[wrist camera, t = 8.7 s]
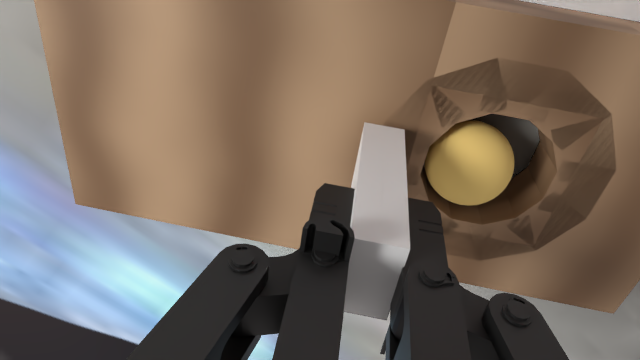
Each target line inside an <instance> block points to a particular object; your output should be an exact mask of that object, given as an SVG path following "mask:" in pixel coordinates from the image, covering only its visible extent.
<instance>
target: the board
mask: <svg viewBox="0 0 640 360" xmlns="http://www.w3.org/2000/svg"><path fill="white" fill-rule="evenodd" d="M34 2H35V7H36V12H37V17H38V22H39V27H40V32H41V37H42V41H43V46H44V51H45V56H46V61H47V66H48V71H49V76H50V81H51V86H52V90H53V95H54V100H55V105H56V110H57V115H58V120H59V125H60V130H61V135H62V139H63V144H64V149H65V154H66V159H67V164H68V169H69V174H70V179H71V184H72V188H73V193H74V198H75V203H76V204H78V205H83V206H88V207H93V208H98V209H102V210H107V211H112V212H117V213H122V214H127V215H132V216H137V217H142V218H147V219H152V220H156V221H161V222H166V223H171V224H176V225H181V226H186V227H191V228H196V229H201V230H205V231H210V232H215V233H220V234H225V235H230V236H235V237H240V238H245V239H250V240H255V241H259V242H264V243H269V244H274V245H279V246H284V247H289V248H294V249H299V248H300V243H301V236H302V229H303V227H304V225H305V223H306V222H307V221H309V217H310V213H311V210H312V205H313V202H314V197H315V193H316V191H317V190H318V189H319V188H320V187H321V186H322V185H323V184H324V183H327V184H333V185H338V186H343V187H349V188H351V185H352V179H353V175H354V170H355V165H356V160H357V155H358V151H359V146H360V141H361V136H362V132H363V127H364V122H366V123H371V124H377V125H382V126H388V127H393V128H399V129H404V130H405V150H406V170H407V191H408V198H413V199H419V200H424V201H429V202H433V203H434V205H435V206H436V207H437V209H438V210H439V212H440V213H441V220H442V227H443V235H444V240H445V247H446V254H447V261H448V268H450V269H451V270H452V271H453V273H454V274H455V275H456V277H457V279H458V282H461V283H466V284H470V285H475V286H480V287H485V288H490V289H495V290H500V291H505V292H510V293H515V294H520V295H524V296H529V297H534V298H539V299H544V300H549V301H554V302H559V303H564V304H569V305H574V306H578V307H583V308H588V309H593V310H598V311H603V312H608V313H613V314H614V312H615V311H616V310H617V309H618V307H619V306H620V305H621V303H622V302H623V301H624V299H625V298H626V297H627V296H628V294H629V293H630V292H631V290H632V289H633V288H634V286H635V285H636V284H637V283H638V281H639V280H640V22H636V21H630V20H625V19H619V18H613V17H608V16H602V15H597V14H591V13H586V12H580V11H574V10H569V9H563V8H558V7H552V6H546V5H541V4H535V3H530V2H524V1H519V0H34ZM492 113H493V114H499V115H504V116H509V117H515V118H520V119H525V120H529V121H530V122H531V123H533V124H534V125H535V126H536V127H537V128H538V132H539V138H540V142H539V144H538V146H537V149H536V151H535V153H534V155H533V157H532V159H531V161H530V163H529V165H528V167H527V168H526V169H524V170H523V171H522V172H520V173H519V174H518V175H516V176H515V177H514V178H512V179H511V180H510V182H509V184H508V185H507V187H506V188H505V189H504V190H503V191H502V192H501V193H500V194H499V195H498V196H497V197H495V198H494V199H492V200H490V201H488V202H486V203H482V204H479V205H460V204H456V203H453V202H450V201H448V200H446V199H444V198H443V197H442V196H440V195H439V194H438V193H437V192H436V191H435V190H434V188H433V187H432V186H431V184H430V182H429V180H428V178H427V175H426V171H425V167H424V162H425V159H426V155H427V152H428V149H429V147H430V146H431V145H432V144H433V143H434V142H435V141H436V140H437V139H439V138H440V137H441V136H442V135H443V134H444V133H445V132H447V131H448V130H449V129H450V128H451V127H452V126H453V125H454V124H456V123H459V122H463V121H467V120H470V119H474V118H477V117H481V116H485V115H488V114H492Z"/></svg>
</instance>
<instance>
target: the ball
mask: <svg viewBox="0 0 640 360" xmlns="http://www.w3.org/2000/svg"><path fill="white" fill-rule="evenodd" d="M425 171H426V175H427V178H428V180H429V182H430V184H431V186H432V187H433V188H434V190H435V191H436V192H437V193H438V194H439V195H440V196H442V197H443V198H444V199H446V200H448V201H450V202H453V203H456V204H460V205H479V204H482V203H486V202H488V201H490V200H492V199H494V198H495V197H497V196H498V195H499V194H500V193H501V192H502V191H503V190H504V189H505V188H506V187H507V185H508V184H509V182H510V180H511V178H512V175H513V171H514V154H513V150H512V147H511V145H510V143H509V141H508V140H507V138H506V137H505V136H504V135H503V134H502V133H501V132H500V131H499V130H498V129H497V128H495V127H493V126H491V125H489V124H487V123H484V122H481V121H474V120H467V121H463V122H459V123H456V124H454V125H453V126H452V127H451V128H450V129H449V130H448V131H447V132H445V133H444V134H443V135H442V136H441V137H440V138H439V139H437V140H436V141H435V142H434V143H433V144H432V145H431V146H430V147H429V149H428V152H427V155H426V159H425Z"/></svg>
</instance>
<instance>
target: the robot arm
mask: <svg viewBox="0 0 640 360" xmlns="http://www.w3.org/2000/svg"><path fill="white" fill-rule="evenodd" d="M344 312H348V313H353V314H358V315H363V316H368V317H373V318H378V319H383V320H387V318H388V315H389V312H390V325H389V328H388V331H387V334H386V337H385V340H384V343H383V346H382V349H381V353H380V354H385V351H386V360H569V359H568V357H567V355H566V354H565V352H564V350H563V349H562V347H561V346H560V344H559V342H558V341H557V339H556V337H555V336H554V334H553V333H552V331H551V329H550V328H549V326H548V324H547V323H546V321H545V320H544V318H543V316H542V315H541V313H540V312H539V311H538V310H537V309H536V307H535V306H534V305H532V304H531V303H530V302H528V301H527V300H526V299H524V298H521V297H519V296H517V295H514V294H508V293H501V294H496V295H495V296H493V297H492V298H491V299H490V301H489V300H487V299H484V298H482V297H480V296H478V295H475V294H473V293H471V292H469V291H468V290H466V289H464V288H463V287H462V286H460V285H459V282H458V279H457V277H456V275H455V274H454V273H453V271H452V270H451V269H450V268H448V261H447V254H446V247H445V240H444V235H443V227H442V220H441V213H440V212H439V210H438V209H437V207H436V206H435V205H434V203H433V202H429V201H424V200H419V199H413V198H408V191H407V170H406V150H405V130H404V129H399V128H393V127H388V126H382V125H377V124H371V123H366V122H364V127H363V132H362V136H361V141H360V146H359V151H358V155H357V160H356V165H355V170H354V175H353V179H352V185H351V188H349V187H343V186H338V185H333V184H327V183H324V184H323V185H322V186H321V187H320V188H319V189H318V190H317V191H316V193H315V197H314V202H313V205H312V210H311V213H310V217H309V221H307V222H306V223H305V225H304V227H303V229H302V236H301V243H300V248H299V249H298V250H297V251H295V252H293V253H292V254H289V255H286V256H280V257H268V256H267V255H266V254H265V252H264V251H263V250H261V249H260V248H258V247H256V246H253V245H249V244H235V245H232V246H229V247H226V248H225V249H224V250H222V251H221V252H220V253H219V254H218V255H217V256H216V257H215V258H214V260H213V261H212V262H211V263H210V264H209V265H208V266H207V267H206V269H205V270H204V271H203V272H202V273H201V274H200V275H199V277H198V278H197V279H196V280H195V281H194V282H193V283H192V285H191V286H190V287H189V288H188V289H187V290H186V291H185V293H184V294H183V295H182V296H181V297H180V298H179V299H178V301H177V302H176V303H175V304H174V305H173V306H172V307H171V309H170V310H169V311H168V312H167V313H166V314H165V315H164V316H163V318H162V319H161V320H160V321H159V322H158V323H157V324H156V326H155V327H154V328H153V329H152V330H151V331H150V332H149V334H148V335H147V336H146V337H145V338H144V339H143V340H142V342H141V343H140V344H139V345H138V346H137V347H136V348H135V350H134V351H133V352H132V353H131V354H130V355H129V356H128V358H127V359H126V360H247V359H248V358H249V356H250V354H251V353H252V351H253V349H254V348H255V346H256V344H257V343H258V341H259V340H260V338H261V335H267V334H277V333H279V335H278V339H277V343H276V347H275V351H274V355H273V359H272V360H338V357H339V348H340V339H341V331H342V322H343V313H344Z"/></svg>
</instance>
